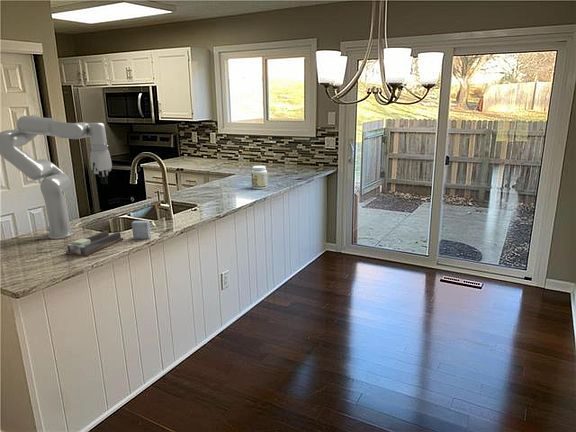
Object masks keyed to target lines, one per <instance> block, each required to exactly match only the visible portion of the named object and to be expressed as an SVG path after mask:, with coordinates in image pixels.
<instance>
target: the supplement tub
mask: <svg viewBox="0 0 576 432" xmlns="http://www.w3.org/2000/svg"><path fill="white" fill-rule="evenodd" d="M251 169H252V170H251V173H250V174H251V188H252V189H254V190H264V189H265V190H266V189H267V188H268V170H267V168H266V166H265V165H253V166H252V168H251Z"/></svg>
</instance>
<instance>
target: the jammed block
mask: <svg viewBox="0 0 576 432" xmlns="http://www.w3.org/2000/svg"><path fill="white" fill-rule="evenodd" d="M90 243H91V241H90V239H86V238H79V239H77V240H75V241H72V244H74V245H82V246H85V245H88V244H90Z"/></svg>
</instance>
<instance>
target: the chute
mask: <svg viewBox="0 0 576 432" xmlns="http://www.w3.org/2000/svg"><path fill="white" fill-rule="evenodd" d="M85 239H90V241H91V243H90V244H88V245H85V246H82V245H74V244H73V243H68V244H66V245H67V250H66V251H65V253H66V254H67V255H74V256H81V257H89V256H91V255H93V254H96V253H97V252H99V251H102V250H104V249H106V248H108V247H111V246H113V245H115V244H118V243H119V242H120V243H121V242H122V241H124V238H123V237H122V235H121V232H120V231H117V232H115V233H112V234H109V230H104V231H101V232H98V233H97V234H93V235H91V236H88V237H85Z"/></svg>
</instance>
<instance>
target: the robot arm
mask: <svg viewBox="0 0 576 432" xmlns="http://www.w3.org/2000/svg"><path fill="white" fill-rule="evenodd" d="M38 135H40V136H50V137H54V138H58V139H59V138H60V139H69V140H80V139H85V138H89V139H90V140H89V141H90V142H89V143H90V148H91V151H90V152H89V161H90V169H91V171H93V174H94V175H98V177H99V179H100V184H101V185H108V184H109V181H108V176H109V173H110V172H111V171H112V168H113V162H112V158H111V157H112V156H111V154H110V151H109V148H108V147H109V145H108V140H107V133H106V125H105V123H103V122H83V121H82V122H81V121H80V122H74V123H73V122H64V121H63V122H62V121H57V120H55V119H54V118H53V117H41V116H39V115H34V114H33V115H22V116H20V117H19V118H17V120H16V129H7V130H3V131H0V156H1V157H2V158H3V159H4V160H6V161H8V162H9V164H12V165H13V166H14V167H15V168H16V169H17V170H18V171H20V172H21V173H23V175H24V176H26V177H28V178H29V179H30V180H33V181H38V180H41V182H40V186H39V189H40V191H41V194H42V196H43V202H44V205H45V209H46V215H47V221H48V225H49V226H48V227H46V228H45V231H47V232H49V233H48V234H47V238H48V239H51V240H57V239H58V240H59V239H66V238H69V237H72V236H74V235H75V230H73V229H72V228H71V223H70V219H69V217H70V216H69V211H68V205H67V199H66V198H65V197H66V196H65V195H64V193H63V192H65V191H67V190H68V189H69V188H70V187H71V185H72V180H71V178H70V177H69V176H68V174H66V173H65V172H64V171H63V170H62V169H60V168H59V167H58V166H57V165H56V164H54V163H53V162H52V161H50V160H47V159H43V158H42V159H41V158H40V159H35V158H33V157H32V156H31V155H29V153H27V152H26V151H24V150H22V149H20V148H18V147H22V146H23V147H24V146H25V145H27V144H28V143H30V142H31V141H32V140H34V139H35V138H36V137H37V136H38Z"/></svg>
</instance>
